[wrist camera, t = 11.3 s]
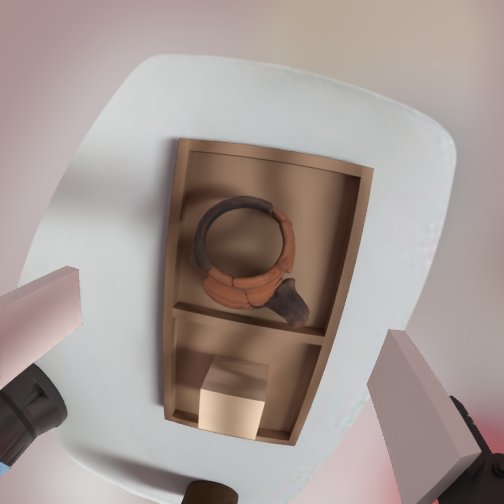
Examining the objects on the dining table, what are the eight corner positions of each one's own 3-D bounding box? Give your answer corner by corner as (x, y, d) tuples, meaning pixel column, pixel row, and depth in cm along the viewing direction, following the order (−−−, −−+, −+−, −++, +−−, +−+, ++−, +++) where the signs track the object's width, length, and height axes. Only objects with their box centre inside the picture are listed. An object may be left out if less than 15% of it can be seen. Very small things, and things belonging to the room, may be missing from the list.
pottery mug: (183, 271, 29) (157, 246, 21) (246, 206, 31) (243, 163, 23) (273, 354, 27) (280, 360, 19) (335, 280, 28) (363, 258, 21)
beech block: (211, 393, 32) (198, 427, 26) (215, 355, 30) (200, 388, 25) (260, 403, 31) (254, 440, 26) (269, 365, 30) (265, 401, 24)
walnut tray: (170, 408, 34) (164, 419, 32) (187, 141, 26) (179, 138, 24) (294, 434, 33) (294, 446, 31) (367, 169, 25) (373, 168, 23)
